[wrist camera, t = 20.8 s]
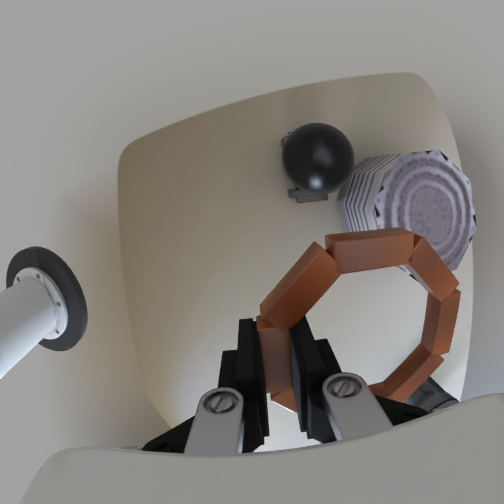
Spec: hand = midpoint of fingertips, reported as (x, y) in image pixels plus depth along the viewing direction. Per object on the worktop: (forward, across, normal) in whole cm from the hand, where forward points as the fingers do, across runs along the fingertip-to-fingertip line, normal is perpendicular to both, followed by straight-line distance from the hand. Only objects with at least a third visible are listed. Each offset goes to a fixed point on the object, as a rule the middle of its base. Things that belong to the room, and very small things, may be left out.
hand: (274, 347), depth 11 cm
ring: (0, -4, 0) cm, 4 cm away
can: (+23, -15, -3) cm, 27 cm away
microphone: (+13, -2, -8) cm, 15 cm away
